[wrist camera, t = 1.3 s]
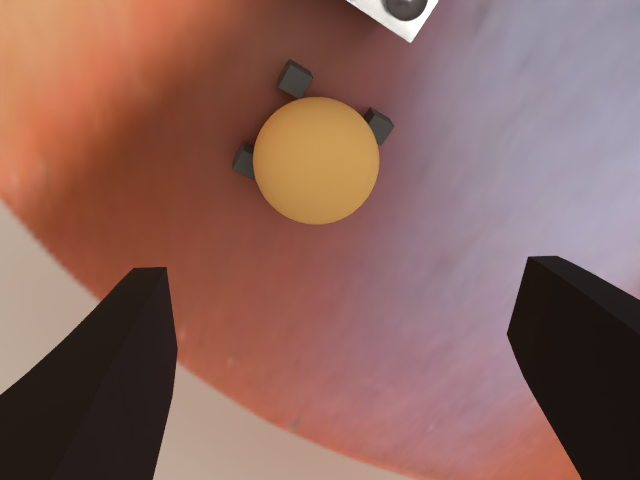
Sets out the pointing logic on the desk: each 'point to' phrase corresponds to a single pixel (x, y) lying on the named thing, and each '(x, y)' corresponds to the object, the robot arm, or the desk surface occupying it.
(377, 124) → the cradle
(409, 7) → the silver open square box
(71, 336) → the robot arm
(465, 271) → the desk surface
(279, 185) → the ball
